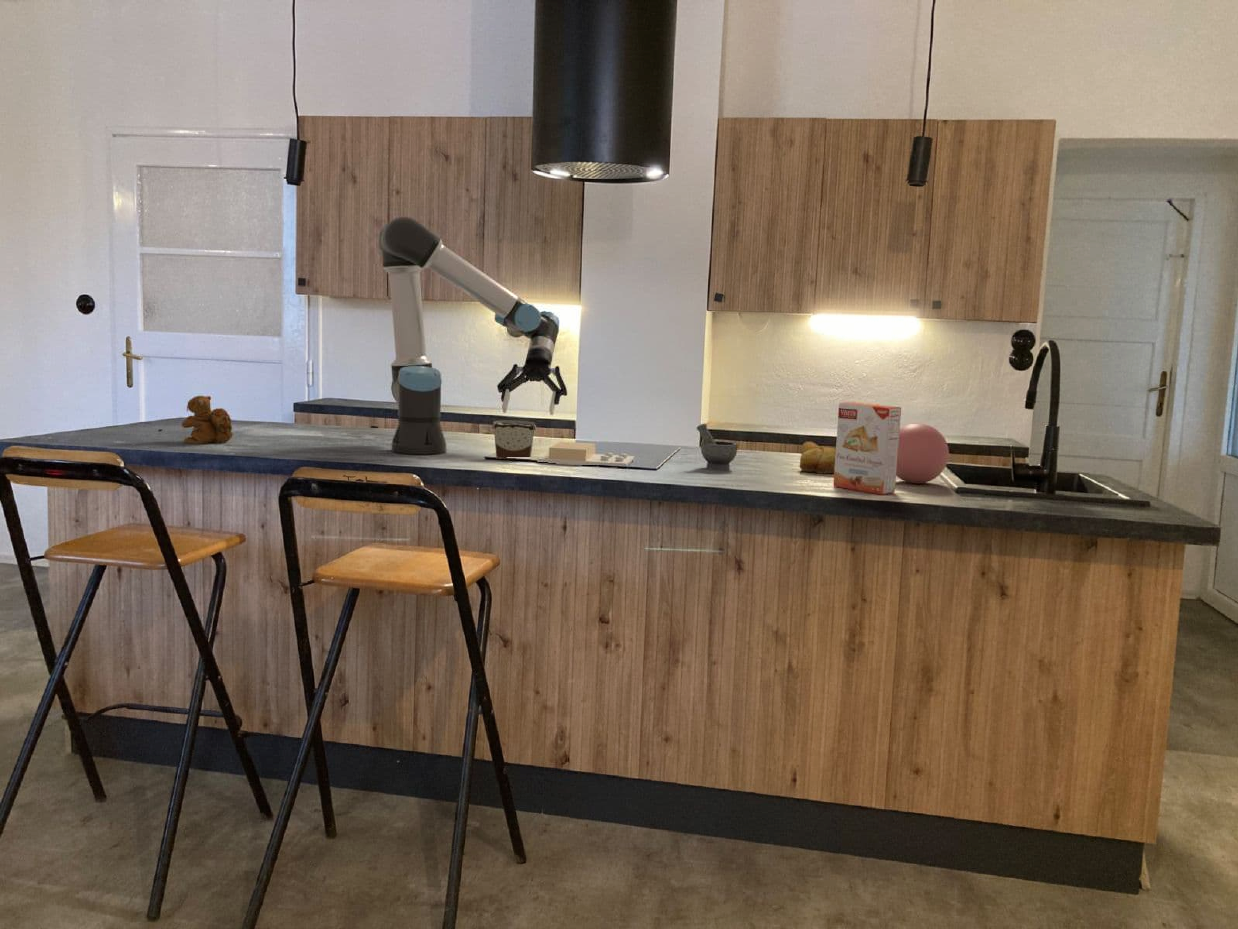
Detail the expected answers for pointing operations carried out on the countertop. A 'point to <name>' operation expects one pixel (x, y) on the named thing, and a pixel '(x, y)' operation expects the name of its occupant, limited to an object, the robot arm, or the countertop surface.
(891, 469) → the cracker box
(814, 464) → the bread roll
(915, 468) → the balloon
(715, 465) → the mortar and pestle
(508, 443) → the food container
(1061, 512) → the countertop surface
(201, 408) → the stuffed squirrel
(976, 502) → the countertop surface
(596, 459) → the build plate
